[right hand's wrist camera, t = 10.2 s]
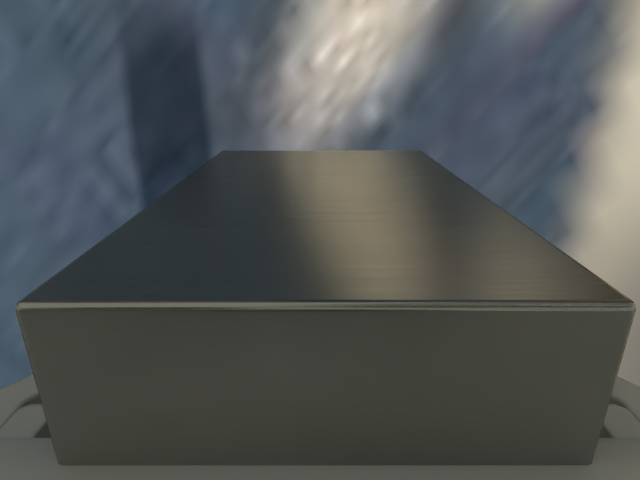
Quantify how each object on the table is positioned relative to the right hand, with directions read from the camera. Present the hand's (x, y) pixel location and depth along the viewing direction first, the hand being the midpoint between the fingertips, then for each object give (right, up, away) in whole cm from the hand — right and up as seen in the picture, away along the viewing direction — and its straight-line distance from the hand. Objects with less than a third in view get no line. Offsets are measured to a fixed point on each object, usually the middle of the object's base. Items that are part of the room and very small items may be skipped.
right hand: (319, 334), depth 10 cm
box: (0, -6, +6) cm, 8 cm away
